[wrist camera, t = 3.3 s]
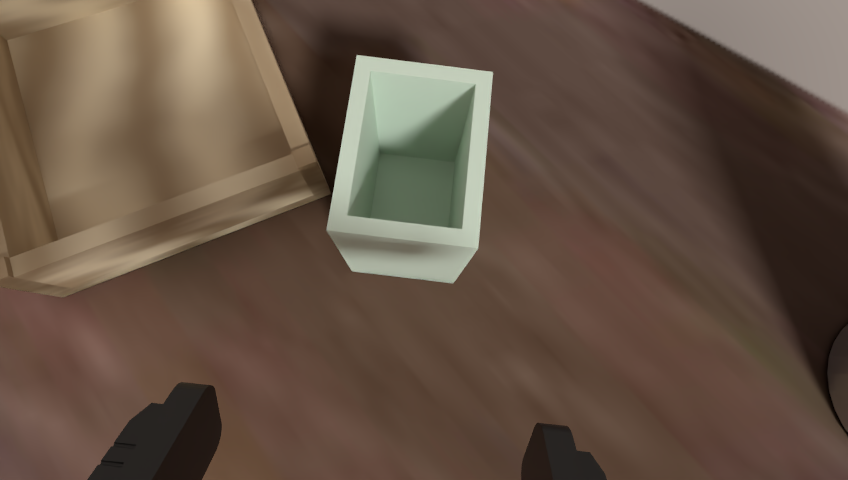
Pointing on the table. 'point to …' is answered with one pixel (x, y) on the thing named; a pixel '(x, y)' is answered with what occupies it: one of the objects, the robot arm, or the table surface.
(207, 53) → the wooden tray
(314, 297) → the table surface
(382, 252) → the box
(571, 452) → the robot arm
